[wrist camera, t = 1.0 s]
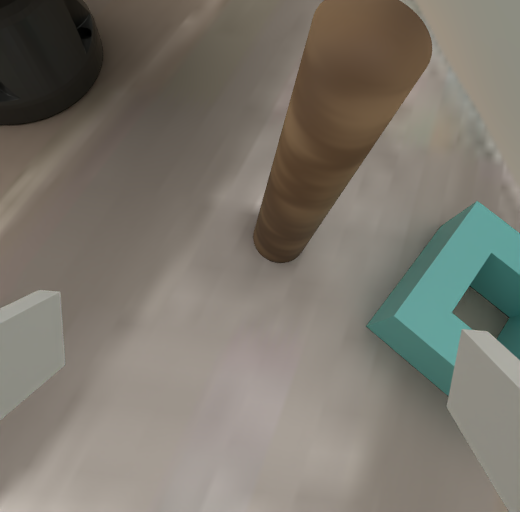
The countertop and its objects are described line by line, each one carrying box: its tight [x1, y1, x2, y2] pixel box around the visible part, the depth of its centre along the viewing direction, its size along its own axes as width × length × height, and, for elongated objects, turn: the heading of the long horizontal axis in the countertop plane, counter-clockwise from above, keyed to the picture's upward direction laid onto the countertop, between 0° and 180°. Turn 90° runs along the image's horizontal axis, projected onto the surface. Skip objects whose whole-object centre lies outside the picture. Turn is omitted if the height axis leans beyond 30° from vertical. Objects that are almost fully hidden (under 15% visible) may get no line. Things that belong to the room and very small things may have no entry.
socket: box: [366, 201, 520, 396], centre depth 30 cm, size 12×12×5 cm
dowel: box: [253, 0, 432, 263], centre depth 23 cm, size 4×4×20 cm
